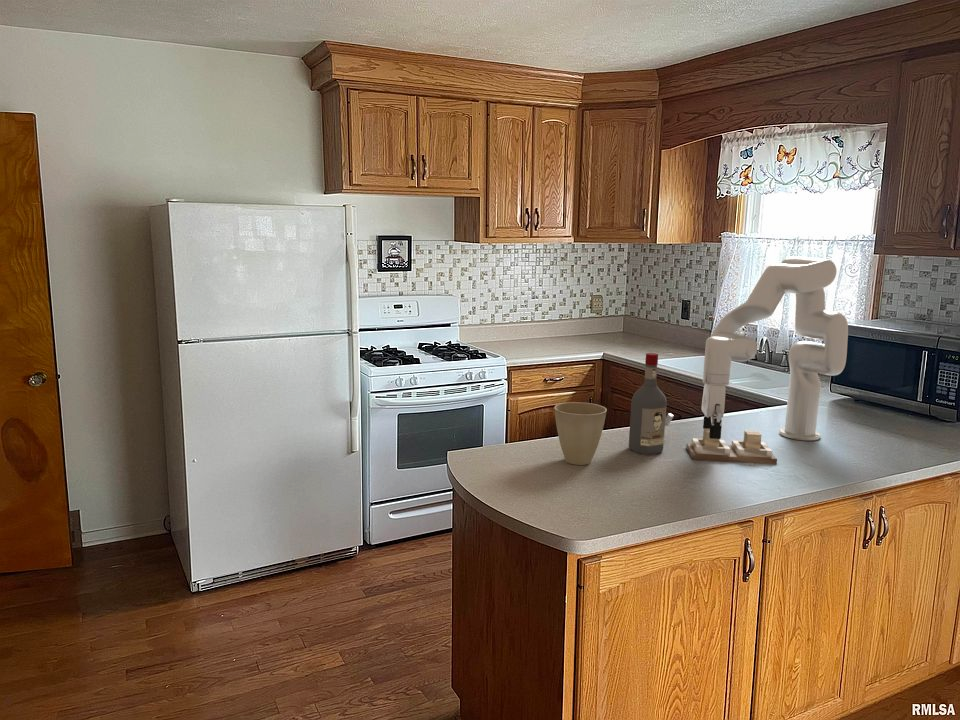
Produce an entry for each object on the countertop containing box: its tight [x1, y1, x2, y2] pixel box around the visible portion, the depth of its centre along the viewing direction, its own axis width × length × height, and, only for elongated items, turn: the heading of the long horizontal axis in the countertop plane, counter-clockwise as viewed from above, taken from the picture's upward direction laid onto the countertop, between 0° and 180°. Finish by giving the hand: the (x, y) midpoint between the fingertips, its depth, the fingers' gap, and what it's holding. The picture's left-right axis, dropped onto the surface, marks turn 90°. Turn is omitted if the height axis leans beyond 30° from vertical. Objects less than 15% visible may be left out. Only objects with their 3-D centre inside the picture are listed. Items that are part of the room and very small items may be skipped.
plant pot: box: [554, 401, 608, 466], centre depth 218 cm, size 15×15×16 cm
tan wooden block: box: [702, 428, 719, 447], centre depth 228 cm, size 4×4×6 cm
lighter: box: [664, 412, 674, 436], centre depth 247 cm, size 7×2×8 cm, turn 42°
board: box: [686, 430, 778, 465], centre depth 227 cm, size 12×24×8 cm, turn 84°
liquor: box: [628, 352, 668, 456], centre depth 229 cm, size 9×9×30 cm
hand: (711, 433), depth 227 cm, fingers open, 9 cm apart
